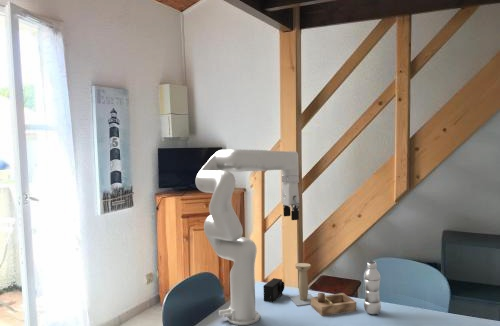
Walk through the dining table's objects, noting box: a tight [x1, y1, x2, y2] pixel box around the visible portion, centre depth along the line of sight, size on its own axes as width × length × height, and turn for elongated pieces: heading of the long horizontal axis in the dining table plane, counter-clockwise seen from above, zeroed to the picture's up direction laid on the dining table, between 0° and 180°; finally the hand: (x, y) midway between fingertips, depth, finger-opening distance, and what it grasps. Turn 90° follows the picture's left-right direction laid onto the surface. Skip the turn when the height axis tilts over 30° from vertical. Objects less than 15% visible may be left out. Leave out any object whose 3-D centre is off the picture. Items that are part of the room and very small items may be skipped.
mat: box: [288, 293, 314, 307], centre depth 172 cm, size 10×10×1 cm
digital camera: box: [262, 277, 285, 303], centre depth 176 cm, size 10×5×7 cm, turn 152°
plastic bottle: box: [363, 260, 382, 315], centre depth 157 cm, size 6×7×20 cm
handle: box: [295, 262, 312, 301], centre depth 172 cm, size 5×6×15 cm
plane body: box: [310, 292, 357, 317], centre depth 163 cm, size 15×10×6 cm
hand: (291, 217), depth 178 cm, fingers open, 9 cm apart
